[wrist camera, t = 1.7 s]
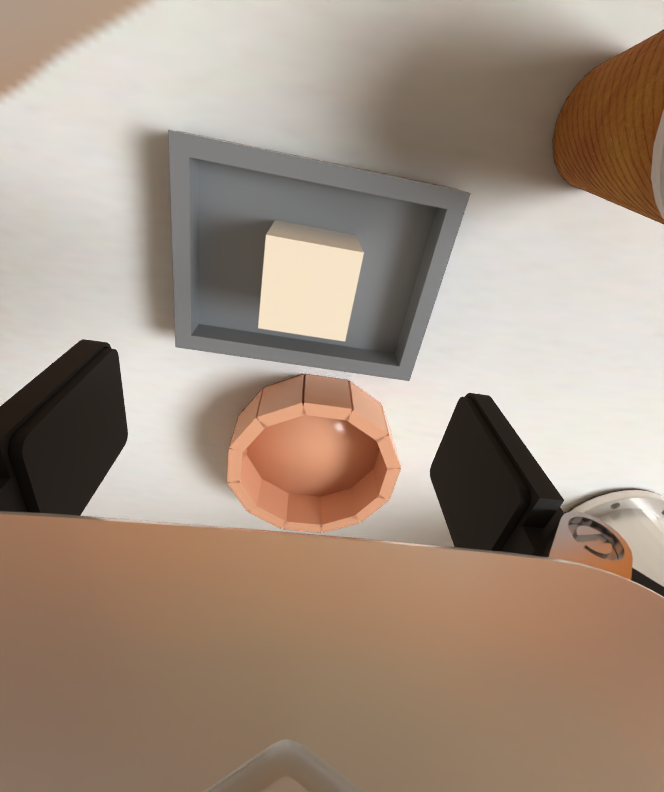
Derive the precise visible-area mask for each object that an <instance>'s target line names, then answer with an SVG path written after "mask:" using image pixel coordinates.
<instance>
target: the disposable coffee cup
mask: <svg viewBox="0 0 664 792" xmlns="http://www.w3.org/2000/svg"><path fill="white" fill-rule="evenodd" d="M553 155H554V161H555V164H556V167H557V169H558V172H559V173H560V174H561V176H562V177H563V178H564V180H566V181H567V182H568V183H569V184H571V185H572V186H575V187H577V188H579V189H583V190H585V191H587V192H589V193H592V194H594V195H596V196H599V197H601V198H604V199H606V200H608V201H610V202H613V203H615V204H618V205H620V206H622V207H625V208H627V209H629V210H631V211H634V212H636V213H638V214H641V215H643V216H645V217H648V218H650V219H652V220H655V221H657V222H660V223H662V224H664V30H662V31H660V32H659V33H657V34H655V35H653V36H651V37H650V38H648V39H646V40H644V41H642V42H641V43H639V44H637V45H635V46H633V47H632V48H630V49H628V50H626V51H625V52H623V53H621V54H619V55H617V56H615V57H613V58H611V59H609V60H607V61H605V62H604V63H602V64H600V65H598V66H597V67H596V68H594V69H593V70H592V71H591V72H589V73H588V74H587V75H586V76H585V77H584V78H583V79H582V80H581V81H580V82H579V83H578V84H577V85H576V87H575V88H574V90H573V91H572V92H571V94H570V95H569V97H568V98H567V100H566V102H565V104H564V106H563V108H562V110H561V112H560V114H559V117H558V120H557V123H556V126H555V132H554V138H553Z"/></svg>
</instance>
